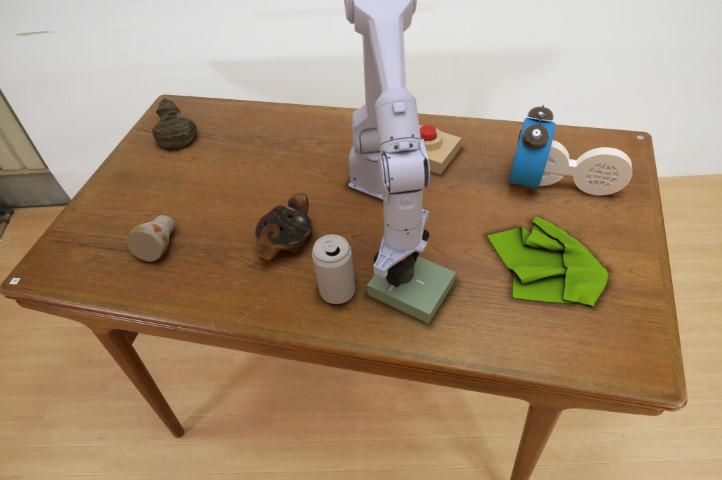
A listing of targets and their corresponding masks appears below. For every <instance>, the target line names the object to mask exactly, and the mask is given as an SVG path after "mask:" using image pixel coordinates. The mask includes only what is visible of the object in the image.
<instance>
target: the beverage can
mask: <svg viewBox="0 0 722 480" xmlns="http://www.w3.org/2000/svg"><path fill="white" fill-rule="evenodd" d="M352 251H353V250H352V247H351V244H349V242H348V240H347V239H346V238H345V237H343V236H342V235H340V234H325V235H322V236H321V237H319V238H318V239H317V240H316V241H315V243H313V247H312V251H311V258H312V263H313V267H314V272H315V277H316V282H317V287H318V291H319V295H320V297H321V299H322V300H323V301H325V302H326V303H329V304H332V305H340V304H344V303H346V302H348V301H350V300H351V299H352V298H353V296H354V295H355V293H356V280H355V270H354V263H353V262H354V261H353V252H352Z"/></svg>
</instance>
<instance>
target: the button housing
mask: <svg viewBox="0 0 722 480" xmlns="http://www.w3.org/2000/svg"><path fill="white" fill-rule="evenodd" d="M422 126H423V125H422V124H419V128H421V127H422ZM435 128H436V138H435V139H434V140H432V141H424V143H425V148H426V151H427V155H428V159H429V165H430V173H434V174H437V175H442V174H443V172H444V171H445V170H446V168H447V167H448V165H449V164H451V162H452V161H453V160H454V158H455V157H456V155H457V154H458V153H459V152H460V150H461V146H462V145H461V144H462V137H460V136H457V135H454V134H450V133H447V132H444V131H441V130H440V129H439V128H437V127H435Z"/></svg>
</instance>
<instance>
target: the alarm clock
mask: <svg viewBox="0 0 722 480" xmlns="http://www.w3.org/2000/svg"><path fill="white" fill-rule="evenodd" d="M554 117H555V116H554V113H553V111H552V110H551V109H550V108H549V107H546V106H545V105H544V104H542V106H539V105H538V106H535V107H532V108H531V109H529V111H528V112H527V116H526V117H524V119H523V124H522V127H521V129H520V130H519V135H518V137H517V146H516V150H515V154H514V158H513V162H512V167H511V170H510V174H509V178H508V183H509V184H511V185H512V184H513V185H516V186H522V187H527V188H531V192H532V193H533V192H534V189H539V187H540V186H539V185H540V183H541V180H542V177H543V173H544V170H545V167H546V163H547V160H548V156H549V152H550V148H551V145H552V141H553V140H554V136H555V131H556V124H557V123H556V122H555V121H554Z"/></svg>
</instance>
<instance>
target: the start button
mask: <svg viewBox="0 0 722 480" xmlns="http://www.w3.org/2000/svg"><path fill="white" fill-rule="evenodd" d="M436 128H437V127H435V126H433V125H431V124H424V125H422V127H421V128H420V136H421V139H424V141H432V140H434V139H435V138H436Z"/></svg>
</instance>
